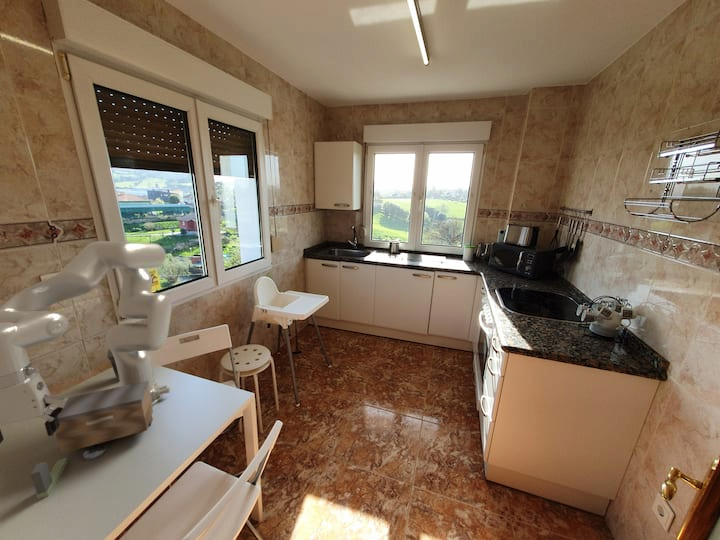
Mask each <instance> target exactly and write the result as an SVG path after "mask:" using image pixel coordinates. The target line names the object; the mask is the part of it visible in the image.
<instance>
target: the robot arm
mask: <svg viewBox="0 0 720 540" xmlns="http://www.w3.org/2000/svg"><path fill="white" fill-rule="evenodd" d="M166 256H167V254H166V251H165V249H164V248H163V247H162V246H161V245H160V244H158V243H150V242H131V241H112V240H111V241H110V240H108V241H107V240H99V241H93V242H90V243H89V244H87V245H85V247H84V248H83V249H81V250H80V251H79V253H77V254H76V255H75V256H74V257H73V259H71V260H70V261H69V263H67V264H66V265H65V266H64V267H63V268H62V269H61V270H60V271H59V272H58V273H57V274H55V275H53V276H50V277H48V278H46V279H44V280H41V281H39V282H37V283H36V284H33V285H31V286H29V287H27V288H25V289H23V290H21V291H20V292H18V293H16V294H15V295H13V296H12V297H10V298H9V299H8V300H7V301H6V302H5V303H4V304H3V305H2V306H0V427H1V426H6V425H10V424H15V423H20V422H23V421H29V420H32V419H37V418H39V419H42V420H45V423H44V427H45V429H46V434H47V436H49V437H51V436H52V437H53V435H54V434H55V431H56V430H57V429H58V428H59V426H60V423H59V420H58V416H57V415H58V414H59V413H60V412H61V411H62V410H63V408H64V407H65V405H66V403H67V401H68V398H69V397H65V396H57V395H51V392H50V389H48V386H47V384H46V382H45V380H44V378H43V377H42V376H41V374H40V367H39V366H33V365H32V363H31V361H30V358H29V355H28V352H27V349H29V348H32V347H35V346H39V345H41V344H42V345H43V344H46V343H49V342H51V341H54V340H56V339H58V338H59V337H61V336H62V335H63V334H65V332H66V331H67V330H68V328H69V327H68V326H69V321H68V320H69V319H68V318H67V317H66V316H65V315H64V314H62V313H59V312H56V311H47V310H46V311H44V310H45V309H46V308H48V307H50V306H52V305H54V304H57V303H60V302H63V301H66V300H69V299H73V298H77V297H80V296H83V295H87V294H89V293H91V292H92V291H94V290H95V288H97V285H99V283H100V282H101V281H102V280H103V279H104V277H106V275H108V273H109V272H110V271H112V269H118V271H119V272H120V274H121V278H122V283H121V284H122V285H121V290H120V296H119V299H118V308H117V312H118V315H119V316H120V317H122V318H124V319H127V320H129V319H131V320H147V322H145V323H144V322H124V323H123V322H122V323H118V324H116V325H114V326H113V327H111V328H110V329H109V330H108V332H107V335H106V344H107V347H108V350H109V349H110V350H111V352H112V354H113V356H114V359H115V362H116V366H117V371H118V375H119V380H120V381H119V383H120V387H121V386H126V385H131V384H136V383H140V382H145V381H149V385H148V387H149V393H150V398H151V403H152V407H153V406H155V404H158V402H159V401H160V399H162V395H165V394H169V393H170V391H171V389H170V387H168V385H162V386H159V384H158V382H156V383H155V377H154V372H153V371H154V370H153V365H152V362H151V361H152V360H151V355H150V353H149V352H156V351H159V350H160V349H162V348H163V347H164V345H166V342H167V339H168V336H169V331H170V330H169V328H170V322H171V316H172V301H171V298H170V297H169V296H168V295H167V294H164V293H163V292H162V293H161V292H152V287H153V278H152V275H151V273H150V271H149V270H148V269H150V268H153V269H154V268H158V267H159V266H161V265H162V264H163V263H164V262H165V261H166ZM52 405H56V408H55V407H54V406H53V407H52ZM4 440H5V439H4V436H3V433H2V430H1V429H0V444H1V443H2V442H4Z"/></svg>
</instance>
